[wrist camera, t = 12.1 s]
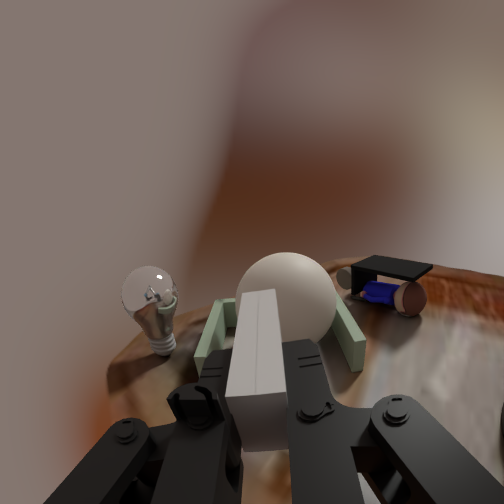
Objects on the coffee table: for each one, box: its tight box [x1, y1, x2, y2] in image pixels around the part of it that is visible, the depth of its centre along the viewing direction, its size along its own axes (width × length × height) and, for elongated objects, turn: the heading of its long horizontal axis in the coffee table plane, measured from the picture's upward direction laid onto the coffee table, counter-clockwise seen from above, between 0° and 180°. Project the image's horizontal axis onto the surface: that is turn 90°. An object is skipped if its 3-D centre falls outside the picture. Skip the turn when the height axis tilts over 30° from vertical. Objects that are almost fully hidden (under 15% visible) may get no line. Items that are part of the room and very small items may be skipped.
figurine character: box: [336, 255, 433, 316], centre depth 38 cm, size 7×8×15 cm
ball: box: [235, 253, 337, 344], centre depth 31 cm, size 12×12×12 cm
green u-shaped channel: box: [194, 290, 366, 378], centre depth 32 cm, size 14×17×4 cm
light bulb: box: [121, 266, 178, 357], centre depth 31 cm, size 7×7×12 cm
